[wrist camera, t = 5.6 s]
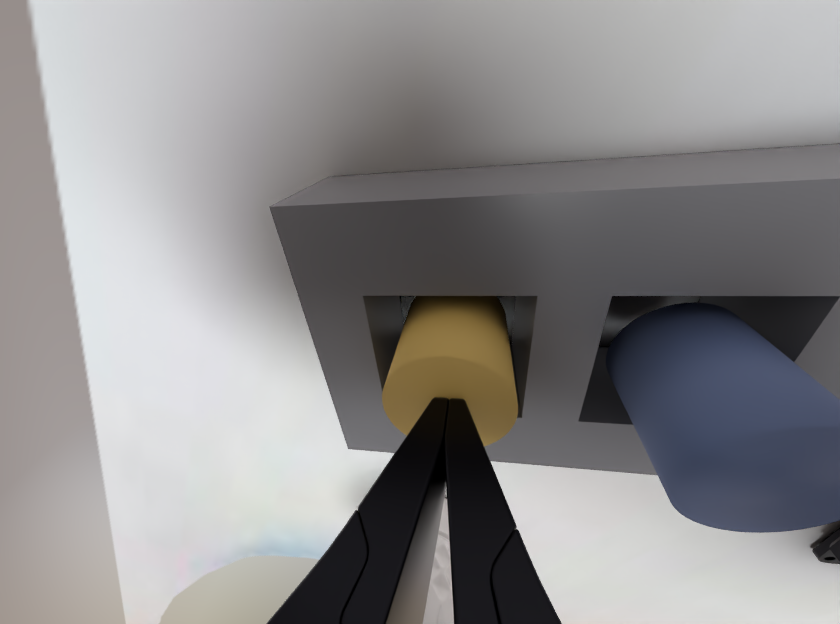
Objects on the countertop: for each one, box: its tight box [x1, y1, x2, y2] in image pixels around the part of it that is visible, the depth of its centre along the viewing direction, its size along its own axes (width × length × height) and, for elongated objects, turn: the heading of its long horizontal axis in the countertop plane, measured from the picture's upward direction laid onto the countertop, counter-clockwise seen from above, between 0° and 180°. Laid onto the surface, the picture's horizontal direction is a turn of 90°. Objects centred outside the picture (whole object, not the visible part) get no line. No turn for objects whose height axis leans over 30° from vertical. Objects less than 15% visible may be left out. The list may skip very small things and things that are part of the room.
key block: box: [270, 144, 840, 475], centre depth 11 cm, size 22×10×4 cm, turn 95°
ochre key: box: [382, 296, 518, 446], centre depth 10 cm, size 4×4×4 cm
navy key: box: [606, 302, 840, 533], centre depth 8 cm, size 4×4×4 cm
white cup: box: [423, 498, 454, 624], centre depth 20 cm, size 8×8×10 cm
